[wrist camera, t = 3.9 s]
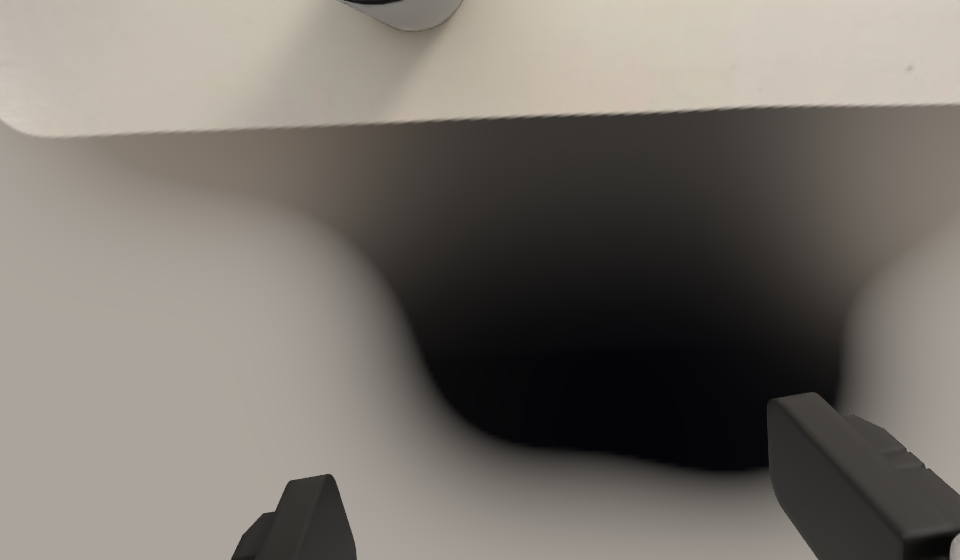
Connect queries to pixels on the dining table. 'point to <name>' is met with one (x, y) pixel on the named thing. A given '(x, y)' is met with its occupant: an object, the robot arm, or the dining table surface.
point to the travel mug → (407, 12)
